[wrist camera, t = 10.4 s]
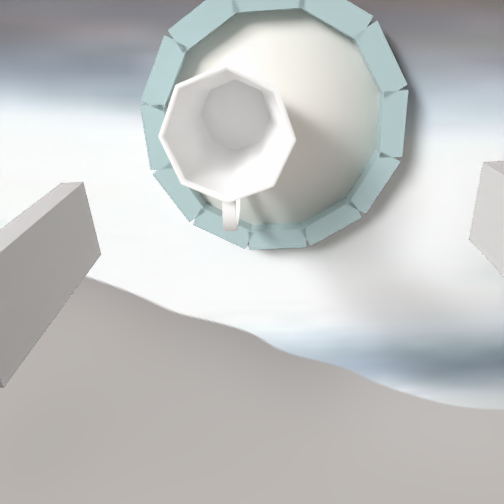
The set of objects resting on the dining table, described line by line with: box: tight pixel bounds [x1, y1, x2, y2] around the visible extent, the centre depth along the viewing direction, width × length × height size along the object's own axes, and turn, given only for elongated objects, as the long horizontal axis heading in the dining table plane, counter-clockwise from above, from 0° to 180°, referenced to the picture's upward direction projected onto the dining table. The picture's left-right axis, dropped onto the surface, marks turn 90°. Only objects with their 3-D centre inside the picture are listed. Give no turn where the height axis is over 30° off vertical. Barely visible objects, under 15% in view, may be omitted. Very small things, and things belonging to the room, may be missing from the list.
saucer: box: [140, 0, 409, 250], centre depth 30 cm, size 17×17×2 cm
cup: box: [158, 63, 296, 231], centre depth 26 cm, size 7×10×8 cm
